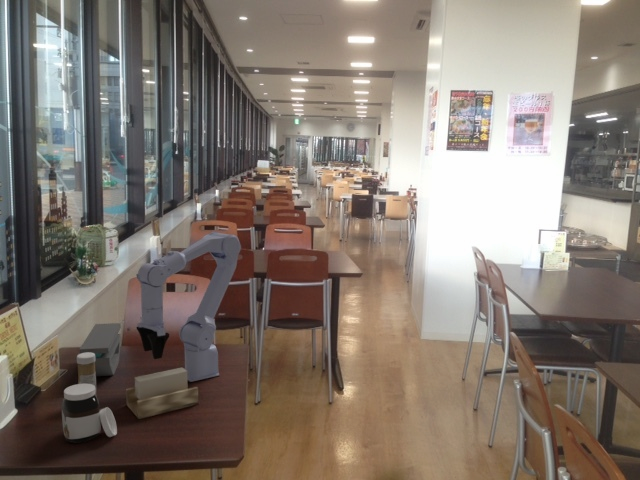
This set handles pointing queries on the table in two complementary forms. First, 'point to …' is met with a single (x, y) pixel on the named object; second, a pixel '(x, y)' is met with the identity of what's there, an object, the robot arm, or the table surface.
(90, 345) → the grey long box
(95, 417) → the spread jar
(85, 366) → the sprinkles bottle
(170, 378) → the grayish beige rectangular block
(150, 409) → the wooden compartment tray
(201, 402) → the table surface
